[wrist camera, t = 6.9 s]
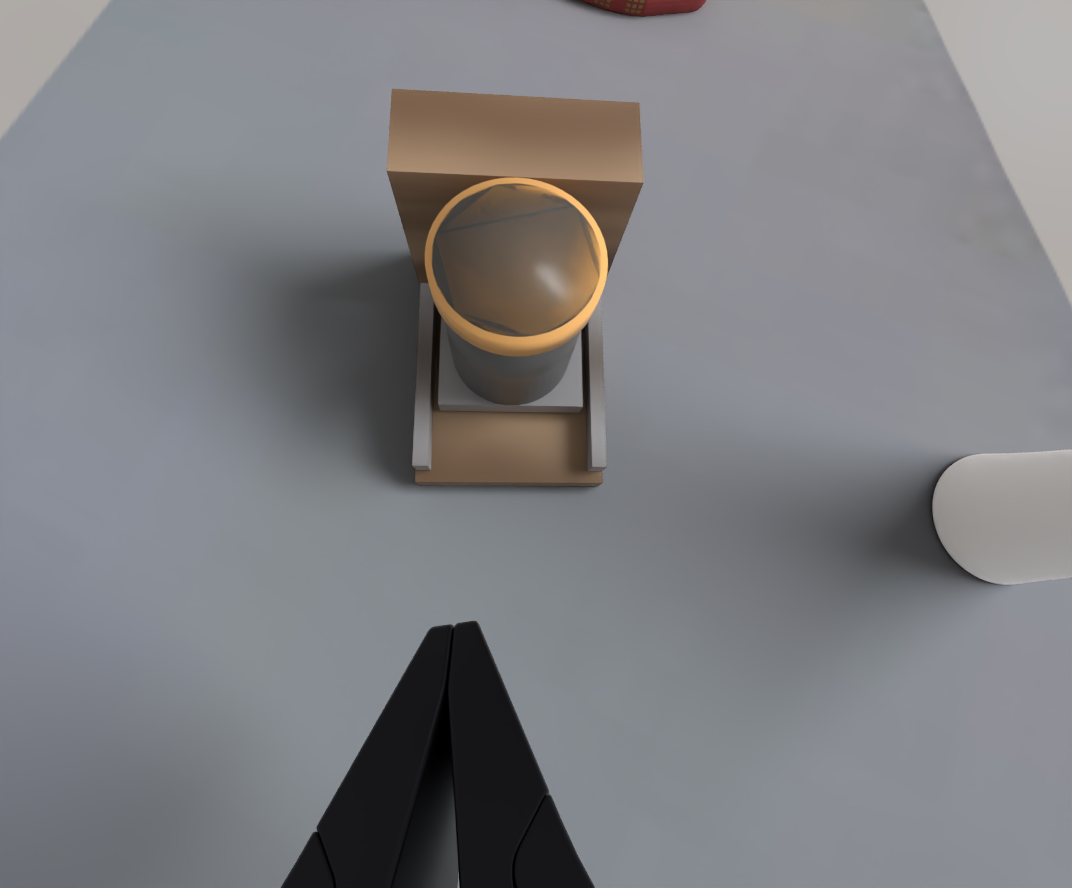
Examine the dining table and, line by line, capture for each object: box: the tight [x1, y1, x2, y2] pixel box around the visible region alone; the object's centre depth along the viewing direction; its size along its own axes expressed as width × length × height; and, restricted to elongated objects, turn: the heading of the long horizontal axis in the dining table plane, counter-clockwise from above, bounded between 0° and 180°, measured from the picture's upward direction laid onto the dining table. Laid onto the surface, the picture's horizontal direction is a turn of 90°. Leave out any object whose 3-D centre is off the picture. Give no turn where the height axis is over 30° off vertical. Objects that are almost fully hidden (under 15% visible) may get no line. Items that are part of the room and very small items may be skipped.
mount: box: [387, 89, 643, 486], centre depth 20 cm, size 12×8×9 cm
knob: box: [425, 177, 608, 413], centre depth 19 cm, size 5×6×8 cm
